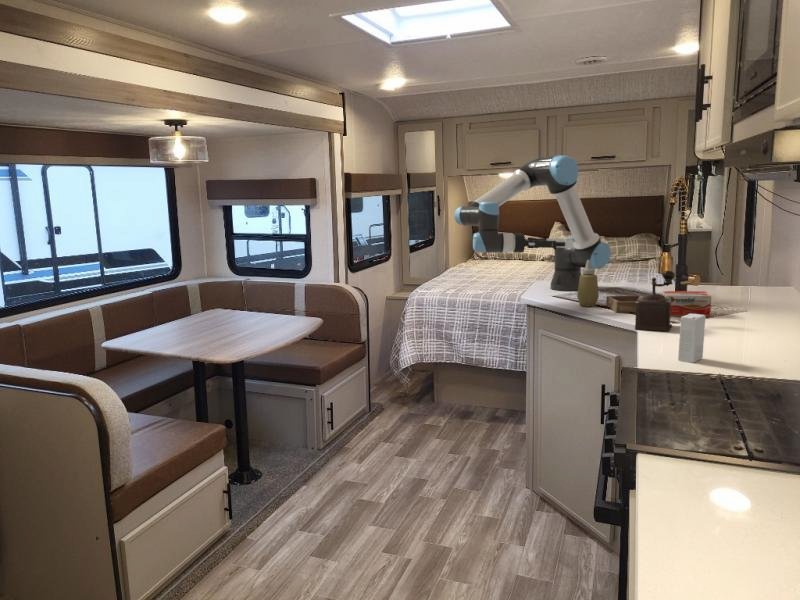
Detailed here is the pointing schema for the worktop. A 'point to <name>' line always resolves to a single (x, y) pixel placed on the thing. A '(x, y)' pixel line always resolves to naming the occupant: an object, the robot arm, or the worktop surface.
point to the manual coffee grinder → (655, 308)
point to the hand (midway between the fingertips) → (568, 243)
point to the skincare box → (691, 338)
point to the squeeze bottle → (588, 286)
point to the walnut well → (622, 303)
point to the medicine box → (689, 302)
